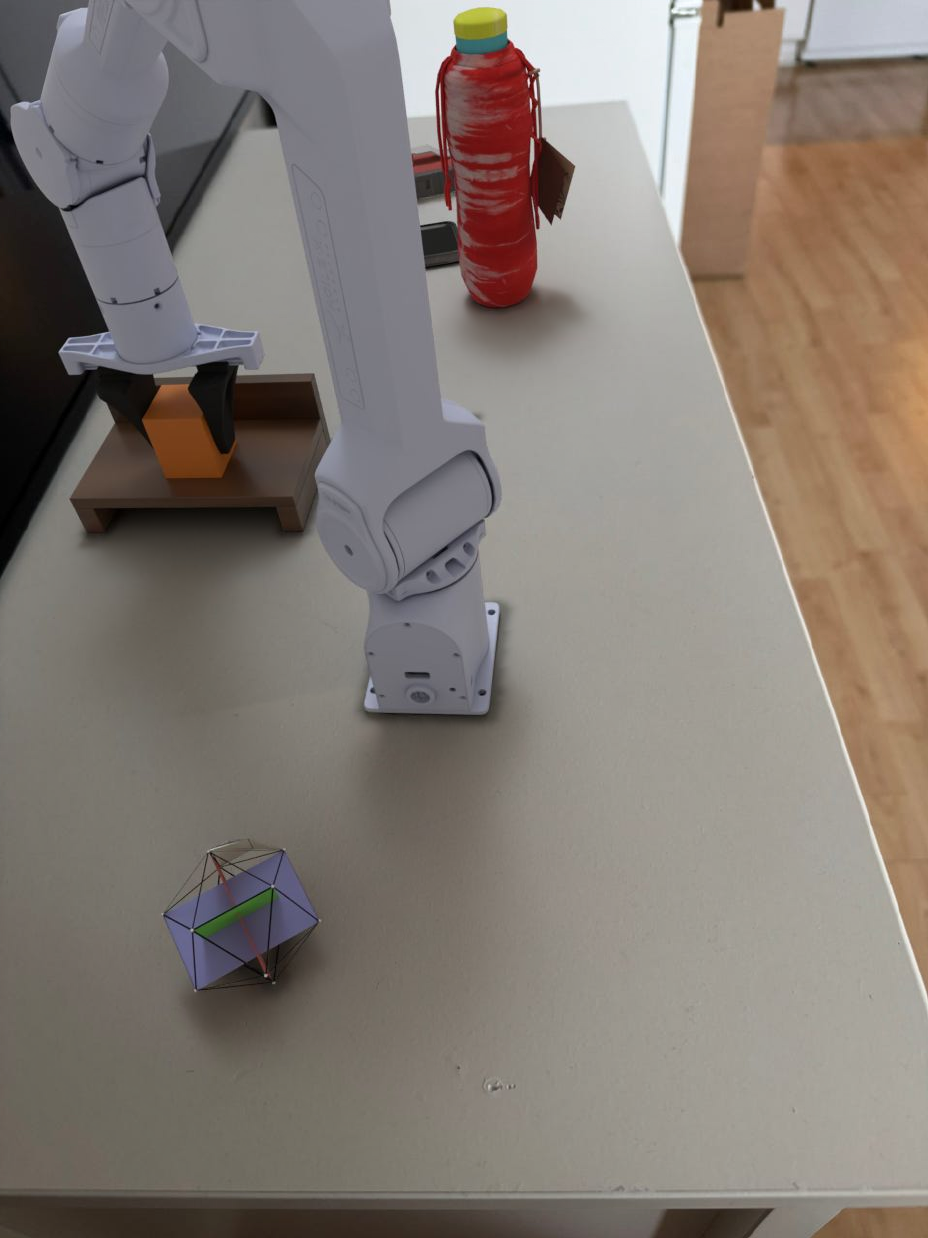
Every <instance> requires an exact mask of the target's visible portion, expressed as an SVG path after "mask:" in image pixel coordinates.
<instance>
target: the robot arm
mask: <svg viewBox="0 0 928 1238" xmlns="http://www.w3.org/2000/svg"><path fill="white" fill-rule="evenodd" d="M391 16H392V7H391V1H390V0H88V4H87V7H80V8H77V9H74V10H70V11H67V12H64V13H62V14H59V16H58V20H57V23H56V27H55V28H56V30H57V31H56V37H55V41H54V43H53V44H54V45H53V48H52V51H51V56H50V59H49V63H48V67H47V72H46V75H45V79H44V83H43V87H42V91H41V95H40V98H39V99H38V100H36V101H33V102H30V101H21V102H18V103H15V104H13V105H11V106H10V128H11V133H12V137H13V140H14V143H15V146H16V148H17V151H18V153H19V155H20V158H21V161H22V162H23V164H24V165H25V167H26V170H27V171H28V173H29V175H30V177H31V178H32V180H33V182H34V183H35V184H36V186H37V187H38V188H39V190H40V191H41V192H42V194H43V195H44V196H45V198H46V199H47V200H49V202H51V203H52V204H53V205H54V206H56V207H58V210H59V212H60V215H61V217H62V220H63V221H64V224H65V227H66V229H67V232H68V234H69V237H70V239H71V241H72V244H73V246H74V248H75V251H76V253H77V256H78V259H79V260H80V263H81V266H82V269H83V270H84V273H85V275H86V278H87V281H88V282H89V283H88V284H89V286H90V288H91V290H92V292H93V295H94V297H95V300H96V302H97V305H98V307H99V310H100V312H101V315H102V317H103V319H104V322H105V325H106V327H107V329H108V331H106V332H102V333H97V334H92V335H86V336H85V335H84V336H75V337H68V338H67V340H66V341H65V343H64V344H63V345H62V347H61V348H60V349H59V351H58V355H59V357H60V359H61V362H62V364H63V366H64V368H65V370H66V372H67V375H69V376H79V375H80V376H81V375H82V374H84V373H85V372H86V370H87V371H88V370H91V371H92V370H96V371H97V373H98V375H99V376H98V379H99V381H98V383H97V385H95V393H96V395H97V396H98V398H99V400H101V401H102V402H103V403H106V405H107V404H109V405H110V406H112V407H113V408H114V409H116V410H117V411H118V412H120V413H121V414H122V415H123V416H124V417H125V418H127V419H128V420H129V421H130V422H131V423H132V424H133V425H134V426H135V428H136V429H137V430H138V431H139V432H140V433H141V434H142V436H143V437H144V438H145V439H146V441H147V442H148V443H149V444H150V446H151V447H152V448H153V446H152V443H151V441H150V439H149V436H148V434H147V431H146V429H145V426H144V424H143V422H142V419H143V417H144V415H145V413H146V412H147V410H148V408H149V406H150V405H151V403H152V401H153V399H154V398H155V396H156V394H157V389H156V385H155V380H154V378H155V376H154V375H158V374H162V373H167V372H171V371H172V372H173V371H177V370H182V369H185V368H192V367H196V370H197V371H196V372H195V373H194V375H193V376H192V377H193V379H192V381H191V383H190V384H189V386H188V391H189V393H190V395H191V396H192V397H193V398H194V400H195V401H196V402H197V404H198V406H199V407H200V409H201V411H202V412H203V414H204V416H205V418H206V420H207V422H208V425H209V427H210V430H211V433H212V436H213V439H214V442H215V444H216V446H217V448H218V450H219V452H220V453H221V454H229V453H230V451H231V448H232V446H233V444H234V442H235V431H234V420H233V401H234V390H235V383H236V377H237V375H238V370H239V366H243V368H244V370H246V371H258V370H259V369H260V367H261V365H262V363H263V362H264V358H265V356H266V352H265V349H264V344H263V341H262V339H261V336H260V332H259V331H258V330H256V331H255V330H253V331H252V330H251V331H247V330H236V329H231V328H227V327H226V328H225V327H221V326H214V325H210V324H209V325H208V324H204V323H198V322H195V320H194V317H193V315H192V312H191V311H192V310H191V308H190V306H189V303H188V300H187V297H186V294H185V291H184V287H183V284H182V282H181V279H180V275H179V273H178V270H177V267H176V264H175V262H174V259H173V254H172V252H171V249H170V246H169V243H168V240H167V237H166V235H165V231H164V228H163V226H162V222H161V219H160V216H159V213H158V209H157V206H159V204H161V198H162V197H161V196H162V195H161V192H160V189H159V186H158V183H157V179H156V162H157V161H156V159H157V157H156V151H155V147H154V141H153V138H152V135H151V133H149V132H150V130H151V128H152V126H153V124H154V122H155V119H156V117H157V115H158V114H159V111H160V109H161V107H162V105H163V103H164V101H165V99H166V97H167V95H168V89H169V85H170V84H169V83H170V77H169V75H170V74H169V67H168V64H167V60H166V57H165V55H164V53H163V50H164V48H165V47H166V45H167V42H169V43H170V44H172V45H173V46H174V47H175V48H177V49H178V51H180V52H181V53H182V54H183V55H185V56H186V57H187V58H188V59H189V60H190V61H191V62H192V63H194V64H195V65H196V66H197V67H198V68H200V69H201V71H203V72H204V73H205V74H206V75H207V76H208V77H210V78H211V79H212V80H213V81H214V82H215V83H217V84H218V85H219V86H224V87H230V88H234V89H235V88H236V89H241V90H246V91H252V92H257V93H258V95H260V96H261V98H263V100H265V102H266V103H267V104H268V105H269V107H270V108H271V110H272V112H273V115H274V117H275V122H276V126H277V127H276V128H277V131H278V136H279V141H280V145H281V150H282V154H283V158H284V165H285V168H286V173H287V177H288V182H289V186H290V191H291V196H292V200H293V205H294V209H295V214H296V215H295V216H296V219H297V224H298V229H299V233H300V237H301V243H302V246H303V251H304V256H305V261H306V265H307V269H308V274H309V279H310V282H311V287H312V288H311V289H312V293H313V296H314V301H315V307H316V312H317V315H318V321H319V324H320V330H321V333H322V338H323V343H324V348H325V352H326V357H327V361H328V366H329V371H330V375H331V381H332V385H333V389H334V394H335V398H336V404H337V408H338V413H339V417H340V423H339V426H338V427H337V429H336V432H335V434H334V435H333V437H332V439H331V443H330V445H329V446H328V448H327V450H326V452H325V454H324V455H323V457H322V459H321V461H320V463H319V465H318V467H317V469H316V472H315V479H316V483H317V493H318V502H317V506H316V530H317V533H318V536H319V540H320V542H321V544H322V546H323V548H324V551H325V552H326V554H327V555H328V557H329V558H330V560H331V561H332V563H333V564H334V565H335V567H336V568H337V569H338V570H339V571H340V573H341V574H342V575H343V576H344V577H345V578H347V580H349V581H350V582H351V583H352V584H354V585H355V586H357V587H358V588H360V589H362V590H365V591H366V595H367V599H368V612H369V613H368V620H367V625H366V630H365V635H364V638H363V639H364V640H363V651H364V656H365V660H366V664H367V667H368V668H367V669H368V671H369V678H368V681H367V682H368V683H367V687H366V692H365V697H364V700H363V707H364V709H365V711H366V712H368V713H383V714H384V713H385V714H386V713H387V714H389V713H390V714H425V715H427V714H431V715H465V716H466V715H468V716H469V715H470V716H471V715H473V716H483V715H485V714H487V713H488V712H489V710H490V704H491V695H492V688H493V687H492V685H493V677H494V676H493V675H494V667H495V659H496V650H497V649H496V647H497V641H498V639H497V638H498V630H499V621H500V613H501V609H500V608H501V607H500V604H499V603H497V602H495V601H494V602H493V601H486V599H485V591H484V583H483V574H482V566H481V558H480V550H479V546H480V544H481V542H482V540H483V539H484V538H485V537H486V536H487V529H486V520H485V519H487V518H489V517H491V516H492V515H494V514H495V513H496V512H497V511H498V509H499V507H500V505H501V503H502V496H503V494H502V492H503V491H502V483H501V478H500V473H499V470H498V468H497V465H496V463H495V461H494V459H493V457H492V455H491V453H490V450H489V447H488V443H487V436H486V426H485V424H484V423H483V422H482V421H481V420H480V419H479V418H477V416H475V414H473V413H472V412H470V411H469V410H468V409H467V408H466V407H464V406H462V405H460V404H459V403H457V402H454V401H453V400H450V399H448V398H445V397H443V396H442V395H441V387H440V378H439V369H438V363H437V354H436V353H437V352H436V346H435V337H434V329H433V322H432V321H433V320H432V311H431V305H430V296H429V288H428V279H427V270H426V267H425V262H424V254H423V246H422V238H421V229H420V225H421V223H420V214H419V205H418V199H417V196H416V188H415V180H414V172H413V163H412V155H411V149H412V148H411V140H410V132H409V123H408V116H407V107H406V97H405V90H404V83H403V82H404V81H403V73H402V66H401V65H402V64H401V58H400V52H399V47H398V42H397V36H396V32H395V30H394V29H395V28H394V25H393V22H392V18H391ZM153 450H154V448H153ZM373 692H374V693H373ZM481 694H484V695H481Z"/></svg>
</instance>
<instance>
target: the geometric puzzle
mask: <svg viewBox="0 0 928 1238" xmlns="http://www.w3.org/2000/svg"><path fill="white" fill-rule="evenodd" d="M256 849H257V850H256ZM264 850H275V851H273V852H272V851H271V852H270V853H269V852H268V853H265V854H262V855H257V856H255V857H251V858H247V859H242V860H239V861H236V862H232V861H234V860H235V859H237V858H239V857H241V856H243V855H244V854H246V853H248V852H253V851H255V852H257V851H259V852H260V851H264ZM273 854H274V855H273ZM269 855H272V856H269ZM209 856H210V858H211V860H212V862H213V864H214V867H215V870H214V871H213V872H211V873H210V874H209V875H208V876H207V877H206V878H204V877H205V873H206V868H207V863H208V860H209V859H208V857H209ZM265 856H269V857H268V858H266V859H264V860H262V861H260V862H258V863H257V864H254V865H252V866H251V867H249V868H247V869H245V870H244V869H243V868H241V867H239V866H238V865H236V864H239V863H242V862H246V861H249V860H254V859H258V858H261V857H265ZM204 859H205V862H204V868H203V873H202V877H201V881H200V882H199V883H198V884H197V885H195V887H193V888H192V889H191V890H190V891H188V893H186V894H185V895H184V896H183V897H181V898H180V899H179V900H178V901H176V902H175V903H174V904H173V905H172V906H171V904H172V903H173V902H174V900H175V898H176V897H177V896H178V895H179V894H180V892H181V890H182V889H183V888H184V886H185V885H186V884H187V883H188V881H189V879H191V877H192V875H193V874H194V872H195V871H196V870H197V868H198V867H199V866H200V864H202V861H203V860H204ZM227 866H233V867H235V868H236V869H238V870H240V871H241V872H240V873H238V874H236V875H235V874H233V873H232V872H230V871H228V870H227V869H225V868H224V867H227ZM216 872H217V873H218V875H217V885H215V886H213V887H212V888H209V889H208V890H206V891H203V892H202V888H203V884H204V882H205V881H206V880H208V879H209V878H210V877H211V876H213V874H215V873H216ZM223 872H225V873H227V874H229V875H230V876H232V877H230V878H228V879H226V877H225V874H224V873H223ZM220 881H221V883H220ZM199 886H200V888H199V892H198V895H197V896H194V897H192V898H191V899H188V900H187V901H185V902H184V903H181V904H179V903H180V902H181V901H182V900H184V898H186V897H187V896H189V894H191V893H192V892H193V891H194V890H196V889H197V888H198V887H199ZM177 904H179V905H178V906H176V905H177ZM170 906H171V907H170ZM175 906H176V907H175ZM160 916H162V917H163V919H164V921H165V923H166V926H167V928H168V930H169V933H170V935H171V938H172V939H173V942H174V944H175V946H176V950H177V951H178V953H179V956H180V958H181V961H182V963H183V965H184V967H185V969H186V972H187V974H188V976H189V978H190V981H191V983H192V985H193V988H194V989H193V992H194V993H197V992H200V991H209V990H220V989H227V988H236V987H245V986H246V987H247V986H254V985H255V986H256V985H265V984H272V985H275V984H276V980H277V979H278V978H279V976H280V975H281V974H282V972H283V971H284V970H285V969H286V967H287V966H288V964H290V962H291V960H292V959H293V958H294V956H295V955H296V954H297V952H298V951H299V949H301V947H302V946H303V945H304V943H305V941H306V940H307V939H308V938H309V936H310V935H311V934H312V932H313V931H314V930H315V929H316V927H317V926H318V924H320V923H321V922H322V919H320V918H319V917H318V915H317V913H316V911H315V909H314V907H313V904H312V902H311V901H310V899H309V897H308V895H307V892H306V890H305V888H304V887H303V885H302V883H301V881H300V878H299V877H298V874H297V873H296V870H295V868H294V867H293V864H292V862H291V861H290V858H289V857H288V854H287V852H286V848H285V847H283V848H280V847H276V846H274V845H270V844H267V843H264V842H260V841H257V840H254V839H250V838H240V839H239V838H238V839H237V838H236V839H229V840H226V841H224V842H222V843H220V844H218V845H215V846H214V847H212V848H209V849H208V850H206V854H205V855H204V857H203V858H202V859H201V861H200V862H199V863H198V865H197V867H196V868H195V869H194V870H193V872H192V873H191V874H190V876H189V877H188V879H187V880H186V881H185V883H183V886H182V887H181V889H180V890H179V891H178V893H177V894H176V895H175V897H174V898H173V900H172V901H171V902H170V904H169V905H168V906H167V908H166V909H165V911H164V912H162V913H161V914H160ZM310 927H311V928H310ZM309 928H310V929H309ZM307 929H309V930H308V931H307V932H306V933H305V934H304V935H303V936H302V937H301V938H300V939H299V940H298V941H297V942H296V943H295V945H293V946H292V947H291V948H290V950H289V951H288V952H287V953H286V954H284V956H283V957H282V958H281V959H279V952H280V946H281V944H282V943H284V942H286V941H288V940H290V939H291V938H293V937H294V936H296V935H298V934H300V933H302V932H304V931H305V930H307ZM306 936H307V937H306ZM303 939H304V940H303ZM302 940H303V942H302ZM300 942H302V943H301V944H300V946H299V947H298V949H297V950H296V951H295V953H294V954H293V955H292V957H291V958H290V959H289V961H288V962H287V963H286V964H285V966H284V967H283V968H282V970H281V971H280V972H279V973H278V975H277V976H276V974H277V967H278V964H280V962H282V961H283V959H284V958H286V956H287V955H289V954H290V953H291V952H292V950H293V949H295V947H296V946H298V944H299V943H300ZM275 947H277V948H276V949H277V950H276V956H275V962H274V963H275V964H274V966H273V967H272V968H271V969H270V970H269V969H268V968H269V967H268V965H269V957H270V955H269V954H270V950H272V949H273V948H275ZM265 953H266V958H265V959H266V960H265V961H264V958H263V956H262V955H263V954H265ZM255 958H257V959H258V961H259V964H260V966H261V967H262V970H263V971H261V970H260V969H259V968H257V967H255V966H254V965H251V964H250V963H248V962H250V961H252V960H253V959H255ZM278 959H279V960H278ZM241 966H243V967H245V968H246V969H248V970H249V971H251V972H254V973H255V974H257V975H258V976H254V977H253V976H252V977H249V978H244V979H239V980H235V981H231V982H226V983H221V984H217V985H213V986H208V987H205V986H207V985H209V984H211V983H213V982H215V981H216V980H218V979H220V978H222V977H224V976H225V975H227V974H229V973H231V972H232V971H235V970H236V969H238V968H240V967H241ZM272 971H273V977H272V974H271V972H272ZM258 978H264V979H265V980H267V981H266V982H257V983H249V984H248V983H247V984H239V985H232V986H231V985H230V984H235V983H240V982H244V981H247V980H248V981H250V980H254V979H258ZM225 985H230V986H225Z"/></svg>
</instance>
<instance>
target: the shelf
mask: <svg viewBox="0 0 928 1238" xmlns="http://www.w3.org/2000/svg"><path fill="white" fill-rule="evenodd" d="M193 377H194V376H171V377H154V380H155V385H156V389H157V392H158V391H159V389H160V387H161V385H183V384H190V383H191V381H192V379H193ZM106 406H107V408H108V411H109V412H110V415H111V417H112V419H113V422H114V424H113V425H112V427H111V429H109V432H108V434H107V435H106V437H105V439H104V440H103V442H102V443H101V445H100V447H99V448H98V450H97V452H96V453H95V455H94V457H93V459H92V460H91V462H90V464H89V465H88V467H87V468H86V471H85V472H84V474H83V475H82V477H81V478H80V480H79V482H78V483H77V485H76V487H75V489H74V490H73V492H72V494H71V495H70V497H69V501H70V503H71V505H72V507H73V509H74V511H75V513H76V515H77V517H78V518H79V520H80V522H81V524H82V526H83V528H84V530H85V533H106V530H107V529H108V528H109V526H110V524H111V521H112V520H113V518H114V516H115V514H116V512H117V511H118V509H162V508H164V509H167V508H169V509H171V508H176V509H177V508H179V509H180V508H181V509H182V508H276V511H277V515H278V518H279V521H280V525H281V527H282V530H283V532H304V529H305V526H306V524H307V520H308V517H309V514H310V510H311V507H312V504H313V502H314V498H315V495H316V492H317V491H318V488H317V483H316V479H315V472H316V469H317V467H318V465H319V463H320V461H321V459H322V457H323V455H324V454H325V452H326V450H327V448H328V446H329V445H330V443H331V441H332V439H331V436H330V435H331V434H330V432H329V428H328V424H327V420H326V415H325V412H324V406H323V403H322V399H321V394H320V391H319V387H318V383H317V379H316V375H315V373H313V372H309V373H306V372H305V373H273V374H272V373H271V374H269V373H268V374H241V375H240V374H239V375H238V374H237V377H236V383H235V390H234V401H233V420H234V431H235V436H236V439H237V444H236V446H235V449H234V451H233V453H232V455H231V458H230V460H229V462H228V464H227V467H226V469H225V471H224V473H223V476H222V478H166V477H165V475H164V473H163V470H162V468H161V465H160V463H159V460H158V458H157V456H156V453H155V451H154V450H153V448H152V447H151V446H150V444H149V443H148V442H147V441H146V439H145V438H144V437H143V436H142V434H141V433H140V432H139V431H138V430H137V429H136V428H135V426H134V425H133V424H132V423H131V422H130V421H129V420H128V419H127V418H125V417H124V416H123V415H122V414H121V413H120V412H118V411H117V410H116V409H114V408H113V407H112V406H110V405H109V404H107V403H106Z"/></svg>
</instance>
